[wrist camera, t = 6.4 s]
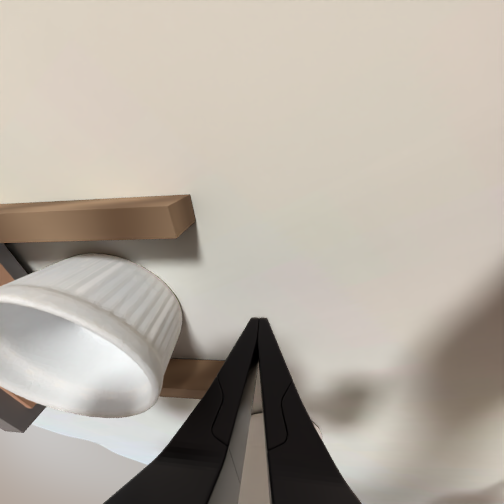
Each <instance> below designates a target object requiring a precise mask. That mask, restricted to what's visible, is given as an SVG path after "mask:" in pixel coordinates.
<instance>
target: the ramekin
mask: <svg viewBox="0 0 504 504" xmlns="http://www.w3.org/2000/svg"><path fill="white" fill-rule="evenodd" d="M181 326H182V312H181V308H180V305H179V302H178V300H177V298H176V297H175V295H174V294H173V292H172V291H171V290H170V289H169V287H168V286H167V285H166V284H165V283H164V282H163V281H162V280H161V279H159V278H158V277H157V276H156V275H154V274H153V273H152V272H150V271H149V270H147V269H145V268H144V267H142V266H140V265H138V264H136V263H133V262H131V261H129V260H126V259H123V258H120V257H116V256H112V255H106V254H100V253H94V254H92V253H89V254H81V255H76V256H73V257H70V258H67V259H64V260H62V261H59V262H57V263H55V264H52V265H50V266H48V267H45V268H43V269H40V270H38V271H36V272H33V273H31V274H29V275H26V276H24V277H21V278H19V279H17V280H14V281H12V282H9V283H7V284H5V285H2V286H0V386H1V387H3V388H5V389H6V390H8V391H10V392H12V393H14V394H16V395H19V396H20V397H23V398H25V399H27V400H30V401H33V402H35V403H38V404H41V405H44V406H47V407H51V408H54V409H57V410H61V411H64V412H69V413H73V414H78V415H84V416H89V417H102V418H120V417H121V418H122V417H129V416H133V415H137V414H140V413H143V412H145V411H147V410H148V409H150V408H151V407H152V406H153V405H154V404H155V403H156V402H157V400H158V398H159V395H160V392H161V389H162V384H163V378H164V377H163V376H164V374H165V371H166V368H167V366H168V363H169V361H170V358H171V355H172V353H173V350H174V348H175V345H176V343H177V340H178V337H179V334H180V331H181Z"/></svg>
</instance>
